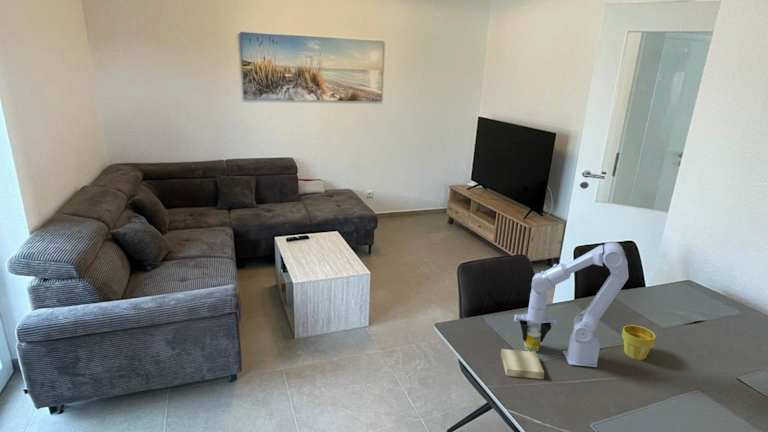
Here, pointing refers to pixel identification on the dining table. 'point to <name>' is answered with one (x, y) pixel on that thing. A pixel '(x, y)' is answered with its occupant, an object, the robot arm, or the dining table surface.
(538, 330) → the supplement bottle
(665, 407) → the dining table surface
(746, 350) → the dining table surface
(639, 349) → the plant pot
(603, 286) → the robot arm
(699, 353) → the dining table surface
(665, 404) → the dining table surface
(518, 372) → the oak riser
